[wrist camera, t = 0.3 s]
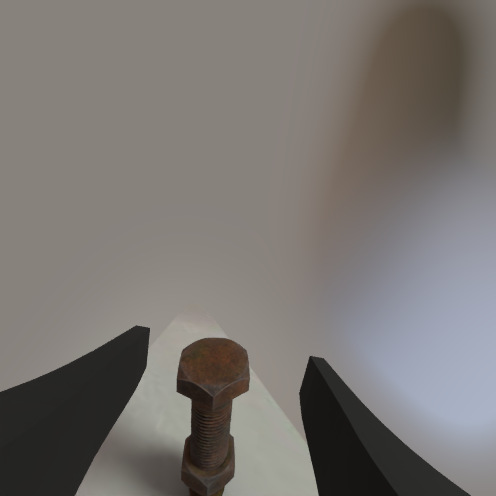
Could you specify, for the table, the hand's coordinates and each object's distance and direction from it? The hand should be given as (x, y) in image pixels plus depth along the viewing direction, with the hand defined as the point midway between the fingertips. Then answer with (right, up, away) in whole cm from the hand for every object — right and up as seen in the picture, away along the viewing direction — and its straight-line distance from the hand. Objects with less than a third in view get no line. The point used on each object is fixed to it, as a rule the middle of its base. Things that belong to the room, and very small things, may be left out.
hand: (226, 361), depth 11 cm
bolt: (-3, -18, +12) cm, 22 cm away
